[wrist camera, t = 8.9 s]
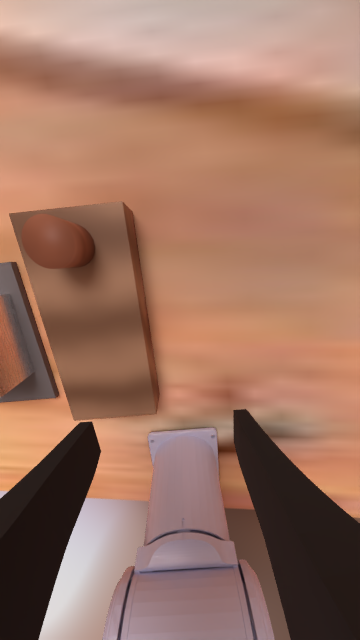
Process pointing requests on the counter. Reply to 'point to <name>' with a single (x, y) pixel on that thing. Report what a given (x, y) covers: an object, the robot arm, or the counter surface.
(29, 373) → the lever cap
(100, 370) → the body
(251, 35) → the counter surface
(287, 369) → the counter surface
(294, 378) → the counter surface
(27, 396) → the rubber mat
